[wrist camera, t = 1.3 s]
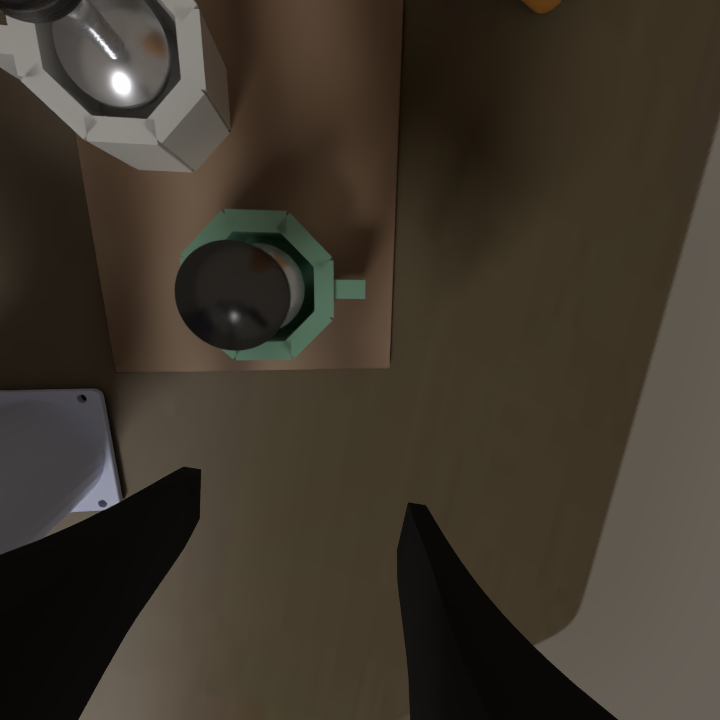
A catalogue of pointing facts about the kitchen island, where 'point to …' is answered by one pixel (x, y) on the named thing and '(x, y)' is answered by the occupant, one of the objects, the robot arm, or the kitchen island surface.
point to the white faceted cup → (146, 125)
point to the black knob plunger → (238, 293)
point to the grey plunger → (105, 46)
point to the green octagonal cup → (311, 262)
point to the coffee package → (541, 5)
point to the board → (266, 181)
